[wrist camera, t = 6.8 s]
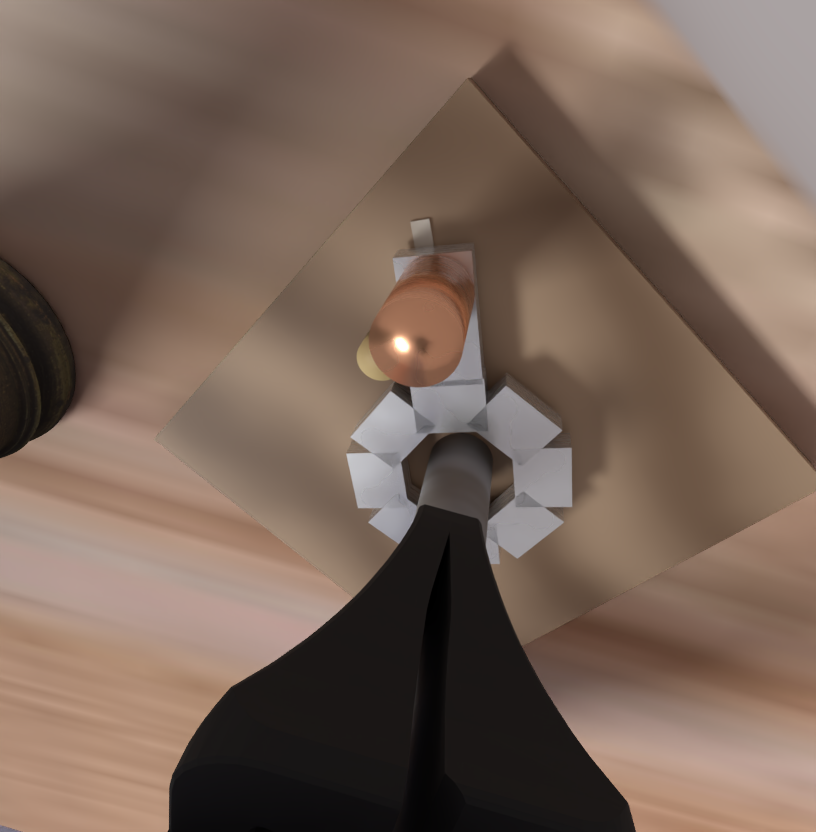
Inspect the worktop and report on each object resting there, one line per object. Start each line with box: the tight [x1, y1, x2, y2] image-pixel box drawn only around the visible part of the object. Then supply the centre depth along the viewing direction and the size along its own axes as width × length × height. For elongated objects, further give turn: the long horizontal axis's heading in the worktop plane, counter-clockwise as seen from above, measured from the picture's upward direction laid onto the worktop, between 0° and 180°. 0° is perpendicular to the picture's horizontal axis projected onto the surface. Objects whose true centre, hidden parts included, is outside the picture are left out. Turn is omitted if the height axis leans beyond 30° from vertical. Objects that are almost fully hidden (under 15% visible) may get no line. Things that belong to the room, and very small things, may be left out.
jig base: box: [154, 78, 816, 646], centre depth 22 cm, size 18×18×6 cm
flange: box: [346, 243, 572, 564], centre depth 20 cm, size 12×8×5 cm, turn 8°
